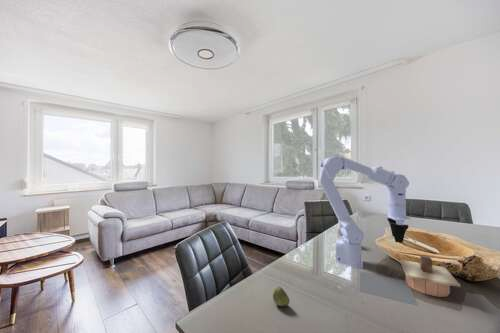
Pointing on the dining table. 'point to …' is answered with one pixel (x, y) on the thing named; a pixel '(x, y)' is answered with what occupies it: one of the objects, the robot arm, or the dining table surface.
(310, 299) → the dining table surface
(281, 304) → the lime
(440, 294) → the bowl
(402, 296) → the mat
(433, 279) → the lid
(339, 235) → the donut
